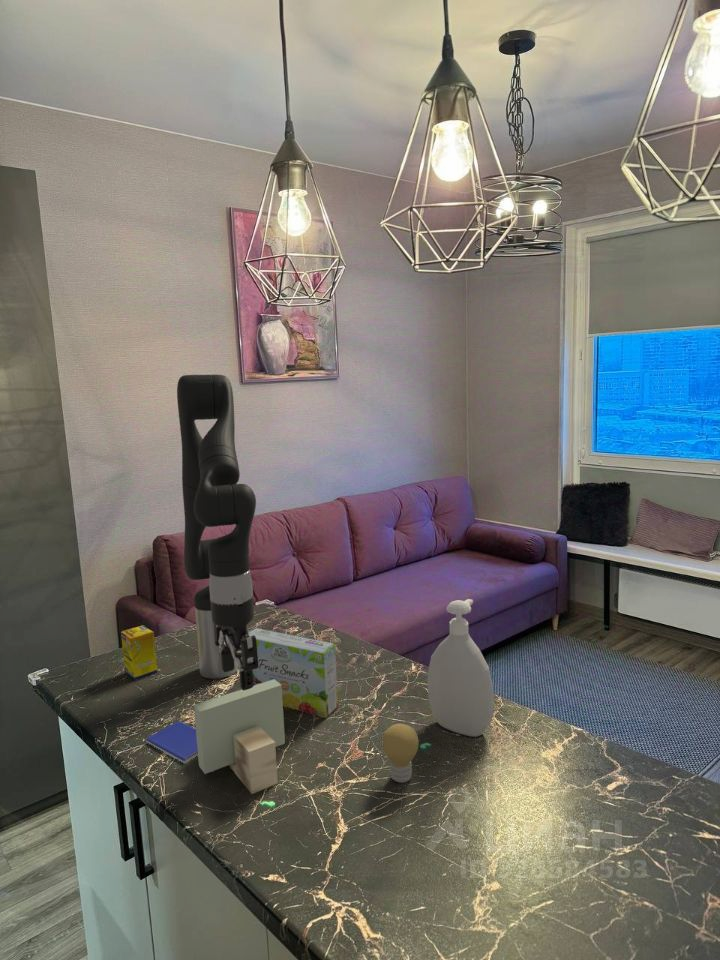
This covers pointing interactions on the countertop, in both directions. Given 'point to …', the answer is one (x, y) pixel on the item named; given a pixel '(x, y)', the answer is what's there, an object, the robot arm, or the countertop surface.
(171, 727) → the hard drive
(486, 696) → the soap bottle
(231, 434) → the robot arm
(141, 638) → the supplement box
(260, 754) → the slotted block
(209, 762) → the sage plate
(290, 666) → the snack box
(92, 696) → the countertop surface
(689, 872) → the countertop surface
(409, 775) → the light bulb
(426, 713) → the countertop surface
